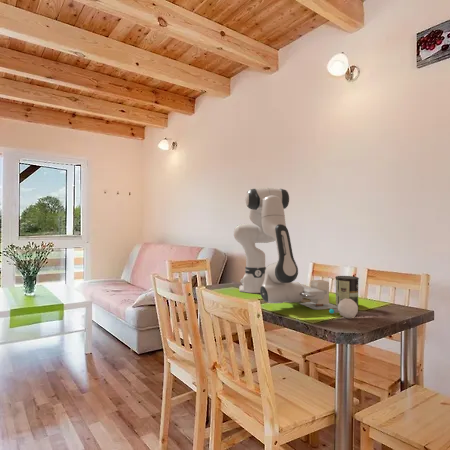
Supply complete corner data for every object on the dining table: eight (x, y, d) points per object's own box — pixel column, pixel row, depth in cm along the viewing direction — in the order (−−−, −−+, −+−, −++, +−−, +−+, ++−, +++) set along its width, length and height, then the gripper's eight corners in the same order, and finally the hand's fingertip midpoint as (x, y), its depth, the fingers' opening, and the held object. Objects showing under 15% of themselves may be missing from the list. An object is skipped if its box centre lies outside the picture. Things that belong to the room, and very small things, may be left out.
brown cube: (314, 304, 167) (314, 298, 167) (321, 304, 167) (321, 298, 167) (317, 306, 163) (317, 299, 163) (324, 305, 164) (324, 299, 164)
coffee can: (356, 305, 170) (356, 275, 170) (360, 310, 160) (360, 279, 160) (334, 304, 172) (334, 275, 172) (336, 309, 162) (336, 278, 162)
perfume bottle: (364, 311, 142) (335, 316, 140) (357, 319, 148) (330, 324, 147) (356, 294, 146) (329, 298, 145) (350, 302, 153) (323, 306, 151)
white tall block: (310, 301, 167) (310, 280, 167) (321, 300, 169) (321, 279, 169) (317, 304, 161) (317, 282, 161) (328, 303, 163) (329, 281, 163)
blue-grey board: (298, 305, 170) (298, 303, 170) (323, 303, 174) (323, 301, 174) (314, 311, 156) (315, 309, 156) (341, 309, 161) (341, 307, 161)
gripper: (307, 289, 151) (334, 287, 156) (284, 281, 171) (309, 280, 175) (307, 303, 151) (334, 301, 156) (284, 294, 171) (309, 293, 175)
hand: (321, 290), depth 165 cm, fingers closed on white tall block, 6 cm apart
